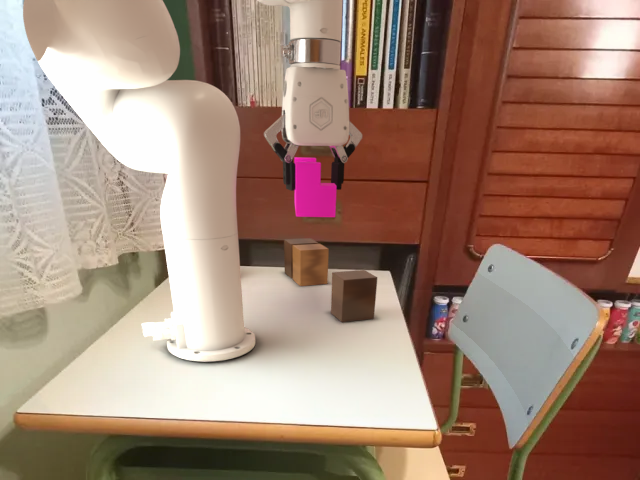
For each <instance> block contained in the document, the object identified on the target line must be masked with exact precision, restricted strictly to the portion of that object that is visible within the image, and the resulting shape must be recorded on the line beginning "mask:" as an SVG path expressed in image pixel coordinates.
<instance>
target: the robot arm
mask: <svg viewBox="0 0 640 480" xmlns="http://www.w3.org/2000/svg"><path fill="white" fill-rule="evenodd" d="M256 2H258V3H260V4H262V5H265V6H268V7H269V6H270V7H288V8H289V42H288V44H286V45H281V46H280V57H281V58H285V59H287V60H288V64H289V65H290V66H289V67H287V68H286V69H285V73H284V75H285V76H284V82H283V91H282V103H281V115H280V116H279V118H278V119H276V120H275V121H274V122H273V123H272V124H271V125H270V126H269V127H267V129H265V131H263V136H264V139H265V140H266V141H267V143H268V144H269V146H271V149H272V151H273V152H274V153H275V154H276V155H277V156H278V158H279V160H280V161H281V162H282V179H283V181H282V182H283V185H284V186H285V189H286V190H289V191H294V192H295V189H296V166H295V163H294V157H295V155H296V153H297V151H298V149H299V147H300V146H304V147H329V149H330V151H331V154H332V157H333V161H331V162H332V163H331V164H330V165H331V168H330V169H331V170H330V183H335V185H336V186H337V187H336V191H340V190H342V188H343V187H342V186H343V184H344V180H345V164H346V163H347V162H348V159H349V158H350V157H351V156H352V154H353V153H354V152H355V151H356V148H357V146H359V144H360V142H361V141H362V139H363V133H362V132H361V130H359V129H358V128H357V126H355V125H354V124H353V123H352V121H350V105H349V89H348V87H349V86H348V79H347V71H346V70H345V69H341V58H342V57H341V55H342V31H343V30H342V29H343V28H342V27H343V2H344V0H256ZM22 4H23V5H22V19H23V26H24V31H25V34H26V38H27V41H28V44H29V46H30V48H31V51H32V53H33V55H34V57H35V59H36V61H37V62H38V64H39V66H40V68H41V69H42V71H43V72H44V74H45V75H46V76H47V78H48V79H49V80H50V82H51V83H52V84H53V86H54V87H55V88H56V90H57V91H58V92H59V93H60V94H61V96H62V97H63V99H64V100H65V101H66V102H67V103H68V104H69V105H70V107H71V108H72V109H73V110H74V111H75V113H76V114H77V115H78V117H79V118H80V119H81V120H82V122H84V124H85V125H86V127H88V129H89V130H90V131H91V132H92V134H93V135H94V136H95V137H96V138H97V140H98V141H99V142H100V143H101V144H102V145H103V147H104V148H105V149H106V150H107V151H108V152H109V154H110V155H112V156H113V157H114V158H115V159H116V160H117V161H119V163H120V164H122V165H124V166H125V167H127V168H130V169H132V170H134V171H141V172H145V173H146V172H147V173H155V174H165V175H167V177H166V180H165V185H164V188H163V192H162V196H161V201H160V208H159V209H160V210H159V216H160V226H161V232H162V239H163V245H164V253H165V259H166V265H167V266H166V267H167V272H168V273H167V274H168V279H169V287H170V295H171V300H172V301H171V302H172V308H173V311H171V312H170V317H169V318H164V321H157V322H155V321H149V322H141V330H142V334H143V337H144V338H147V337H152V340H153V341H163V340H166V346H167V350H168V352H169V353H171V354H172V355H173V356H175V357H177V358H180V359H182V360H185V361H191V362H192V361H193V362H201V363H202V362H205V363H208V362H209V363H210V362H222V361H227V360H232V359H235V358H239V357H241V356H243V355H246V354H248V353H249V352H250V351H251V350H253V349H254V347H255V345H256V335H255V333H254V332H253V330H251V329H249V328H248V327H245V324H244V323H245V321H244V320H245V319H244V306H243V290H242V276H241V275H242V274H241V259H240V244H239V231H238V213H237V177H238V165H239V157H240V151H241V150H240V148H241V125H240V120H239V116H238V113H237V111H236V108H235V106H234V104H233V102H232V101H231V99H230V98H229V97H228V96H227V95H226V94H225V92H223V91H222V90H221V89H219V88H218V87H216V86H214V85H212V84H210V83H207V82H204V81H200V80H193V79H176V80H175V79H170V78H171V77H172V75H174V73H175V72H176V71H177V69H178V66H179V63H180V56H181V46H180V40H179V35H178V32H177V29H176V28H175V24H174V21H173V19H172V17H171V14H170V12H169V10H168V7H167V6H166V4H165V2H164V0H23V3H22ZM280 132H281V138H282V140H283V141H284V142H285V145H284V146H283V145H282V143H280V142H279V140H278V137H277V135H278V134H279V133H280Z"/></svg>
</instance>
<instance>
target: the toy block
mask: <svg viewBox="0 0 640 480" xmlns="http://www.w3.org/2000/svg"><path fill="white" fill-rule="evenodd" d="M293 163H295V166H296V189H295V190H294V211H295V217H296V218H297V217H298V218H336V209H337V189H336V187H337V186H336V185H335V183H331V182H322V181H321V178H322V172H321V171H322V163H321V162H320V161H317V158H316V157H303V156H301V157H299V156H298V157H297V156H294V157H293Z"/></svg>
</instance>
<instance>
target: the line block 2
mask: <svg viewBox="0 0 640 480" xmlns="http://www.w3.org/2000/svg"><path fill="white" fill-rule="evenodd" d="M377 285H378V276H375V275H374V274H372V273H370V272H369V271H367V270H366V269H358V270H344V271H343V270H342V271H333V272H331V295H330V297H331V299H330V313H331V315H333V316H334V317H335V318H336V319H337V320H338V321H340V323H347V322H357V321H366V320H375V310H376V309H375V308H376V301H377V300H376V299H377V298H376V297H377Z"/></svg>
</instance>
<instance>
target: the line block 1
mask: <svg viewBox="0 0 640 480" xmlns="http://www.w3.org/2000/svg"><path fill="white" fill-rule="evenodd" d="M306 244H319V242H318V241H316V240H315V239H313V238H311V237H305V238H285V239H283V254H284V255H283V256H284V257H283V259H284V260H283V261H284V262H283V263H284V264H283V265H284V273H285V275H287V276H288V277H289V278H290V279H293V245H306Z"/></svg>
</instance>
